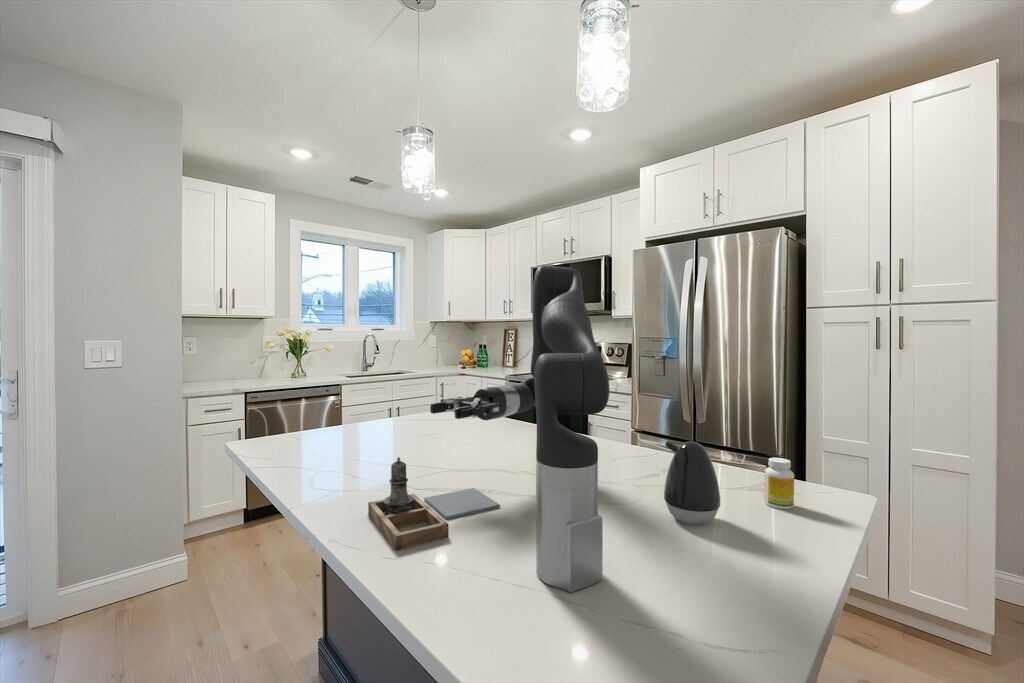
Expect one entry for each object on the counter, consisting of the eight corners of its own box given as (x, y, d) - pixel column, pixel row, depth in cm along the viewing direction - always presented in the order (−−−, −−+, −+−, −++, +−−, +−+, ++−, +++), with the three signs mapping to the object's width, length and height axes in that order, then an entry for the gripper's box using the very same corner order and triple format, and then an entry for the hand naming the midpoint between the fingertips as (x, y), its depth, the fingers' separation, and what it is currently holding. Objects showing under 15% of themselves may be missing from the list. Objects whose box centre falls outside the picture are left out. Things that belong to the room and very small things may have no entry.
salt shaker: (406, 524, 87) (406, 461, 86) (378, 522, 88) (377, 460, 88) (419, 512, 92) (418, 453, 92) (392, 510, 94) (391, 452, 93)
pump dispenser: (677, 505, 96) (677, 433, 96) (728, 519, 89) (729, 441, 88) (653, 519, 89) (653, 441, 89) (707, 536, 82) (707, 451, 81)
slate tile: (499, 507, 95) (499, 504, 95) (446, 519, 89) (446, 516, 89) (473, 490, 105) (473, 487, 105) (424, 500, 99) (424, 497, 99)
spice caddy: (448, 537, 81) (448, 523, 81) (395, 550, 76) (395, 536, 76) (414, 504, 97) (413, 493, 97) (368, 514, 92) (368, 502, 92)
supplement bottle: (759, 500, 99) (759, 456, 99) (783, 500, 99) (783, 456, 99) (774, 510, 93) (774, 463, 93) (799, 510, 94) (800, 463, 93)
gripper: (476, 384, 115) (423, 390, 103) (518, 389, 105) (464, 397, 93) (477, 413, 115) (423, 423, 103) (518, 421, 105) (465, 433, 93)
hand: (443, 411), depth 98 cm, fingers open, 8 cm apart
